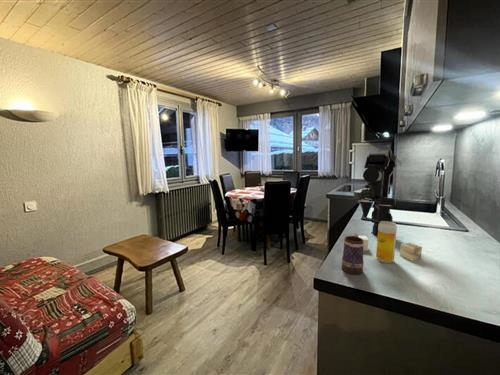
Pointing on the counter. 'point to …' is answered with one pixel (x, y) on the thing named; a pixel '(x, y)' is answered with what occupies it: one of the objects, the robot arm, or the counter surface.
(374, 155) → the robot arm
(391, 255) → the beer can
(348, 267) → the mug
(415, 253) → the birch block
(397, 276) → the counter surface
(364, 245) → the cream plastic block
